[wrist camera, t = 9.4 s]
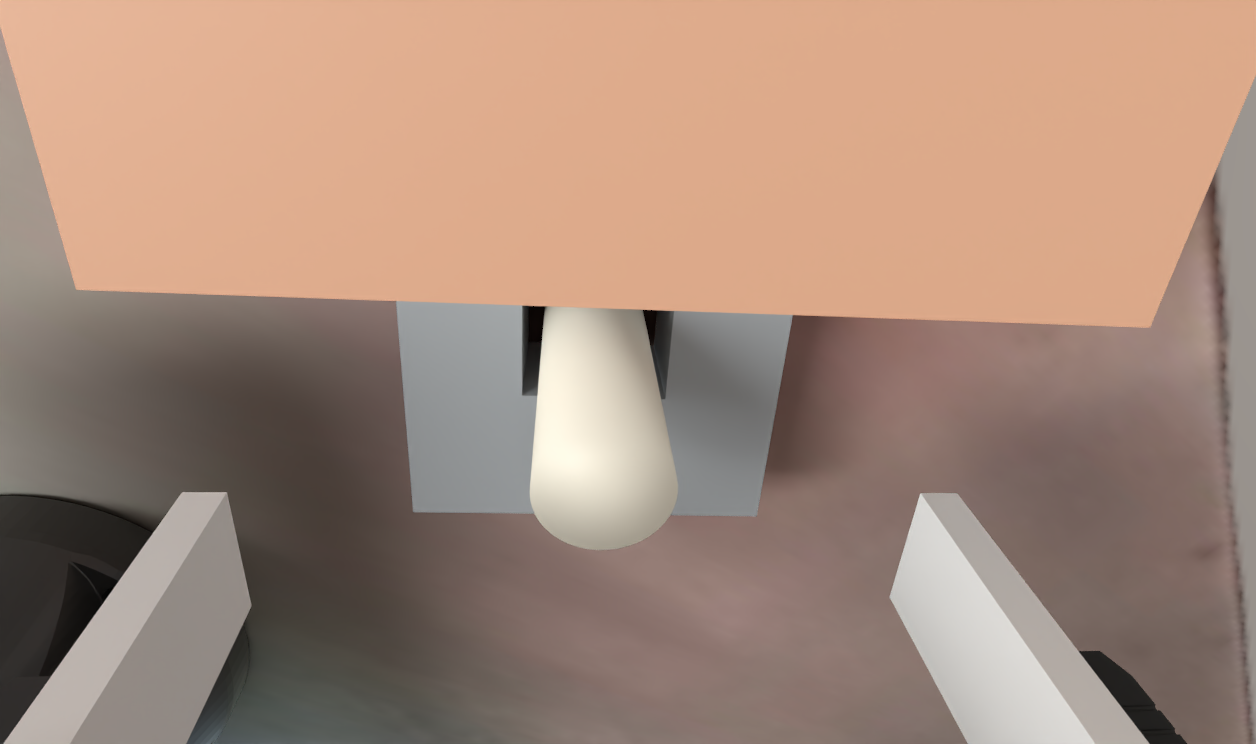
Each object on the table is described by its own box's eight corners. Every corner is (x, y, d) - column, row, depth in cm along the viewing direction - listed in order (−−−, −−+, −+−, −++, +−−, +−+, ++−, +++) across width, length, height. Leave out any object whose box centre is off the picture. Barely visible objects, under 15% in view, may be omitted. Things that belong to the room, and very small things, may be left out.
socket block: (432, 447, 30) (412, 512, 26) (402, -12, 22) (370, -8, 19) (735, 453, 31) (756, 516, 27) (803, 16, 23) (845, 24, 20)
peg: (546, 241, 26) (529, 428, 16) (639, 244, 26) (684, 430, 16) (546, 326, 28) (530, 550, 17) (634, 328, 28) (671, 549, 17)
